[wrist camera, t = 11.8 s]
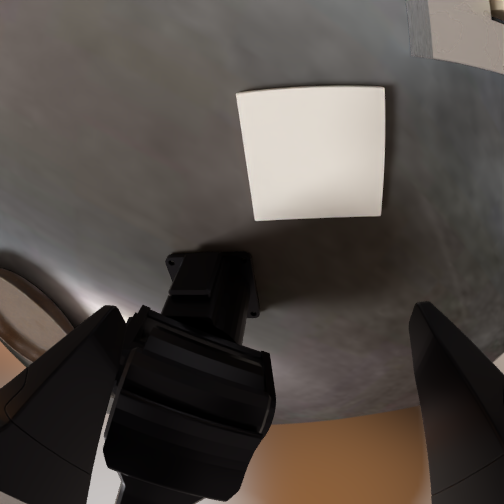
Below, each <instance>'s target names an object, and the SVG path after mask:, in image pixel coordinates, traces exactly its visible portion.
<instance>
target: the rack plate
mask: <svg viewBox="0 0 504 504" xmlns="http://www.w3.org/2000/svg"><path fill="white" fill-rule="evenodd" d="M405 1H406V8H407V16H408V24H409V34H410V46H411V56H414V57H422V58H429V59H435V60H441V61H447V62H452V63H457V64H462V65H467V66H471V67H476V68H480V69H484V70H488V71H491V72H495V73H499V74H502V75H504V24H501V23H498V22H496V21H493V20H492V19H491V11H490V4H489V0H405Z"/></svg>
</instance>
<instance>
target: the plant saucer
mask: <svg viewBox="0 0 504 504" xmlns="http://www.w3.org/2000/svg"><path fill="white" fill-rule="evenodd" d="M72 330H74V328H73V326H72V325H71V323H70V322H69V320H68V319H67V317H66V316H65V315H64V314H63V312H62V311H61V310H60V309H59V308H58V307H57V306H56V305H55V304H54V302H53V301H52V300H51V299H49V298H48V297H47V296H46V295H45V294H44V293H43V292H42V291H41V290H39V289H38V288H37V287H36V286H34V285H33V284H32V283H30V282H29V281H27V280H26V279H24V278H23V277H21V276H19V275H17V274H15V273H13V272H11V271H9V270H6V269H2V268H0V338H1V339H2V340H3V341H5V342H6V343H7V344H8V345H9V346H10V347H11V348H13V349H14V350H15V351H16V352H18V353H19V354H20V355H22V356H23V357H25V358H26V359H28V360H29V361H31V362H32V363H33V362H34V361H35V360H36V359H38V358H39V357H40V356H41V355H43V354H44V353H45V352H46V351H47V350H49V349H50V348H51V347H52V346H54V345H55V344H56V343H57V342H59V341H60V340H61V339H62V338H64V337H65V336H66V335H67V334H69V333H70V332H71V331H72Z"/></svg>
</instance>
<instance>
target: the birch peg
mask: <svg viewBox="0 0 504 504" xmlns="http://www.w3.org/2000/svg"><path fill="white" fill-rule="evenodd" d="M489 4H490V11H491V16H492V17H495V18H497V19H500V20H503V21H504V0H489Z"/></svg>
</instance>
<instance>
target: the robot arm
mask: <svg viewBox="0 0 504 504" xmlns="http://www.w3.org/2000/svg"><path fill="white" fill-rule="evenodd" d="M241 258H246V259H247V260H243V259H241ZM171 260H172V261H174V262H171ZM165 262H166V266H167V268H168V271H169V274H170V276H171V279H172V282H173V283H172V285H171V287H170V289H169V295H168V298H167V300H166V302H165V305H164V307H163V309H162V312H161V314H160V313H157V312H155V311H153V310H150V309H151V308H149V307H147V306H145V305H142V307H141V308H140V310H139V312H138V313H136V312H135V314H134V316H133V317H129V319H128V321H127V323H125V321H124V319H123V317H122V315H121V313H120V311H119V309H118V308H117V307H116V306H111V305H105V306H103V307H102V308H100V309H99V310H98V311H97V312H95V313H94V314H93V315H91V316H90V317H89V318H88V319H86V320H85V321H84V322H82V323H81V324H80V325H79V326H77V327H76V328H75V329H74V330H72V331H71V332H70V333H69V334H67V335H66V336H65V337H64V338H62V339H61V340H60V341H59V342H57V343H56V344H55V345H54V346H52V347H51V348H50V349H49V350H47V351H46V352H45V353H44V354H43V355H41V356H40V357H39V358H38V359H36V360H35V361H34V362H33V363H32V364H30V365H29V367H27V368H26V369H24V370H23V371H22V372H21V373H20V374H19V375H17V376H16V377H15V378H14V379H12V380H11V381H10V382H9V383H7V384H6V385H5V386H3V387H2V388H1V389H0V504H86V502H87V497H88V491H89V486H90V480H91V474H92V469H93V464H94V460H95V456H96V451H97V447H98V443H99V439H100V434H101V430H102V426H103V422H104V418H105V415H106V411H107V407H108V403H109V400H110V397H112V398H114V401H113V404H112V408H111V411H110V415H109V418H108V422H107V425H106V429H105V432H104V438H105V443H104V447H103V453H104V457H105V461H106V465H107V467H108V468H109V469H112V470H114V471H117V472H118V475H119V477H120V479H121V484H120V488H119V491H118V495H117V498H116V502H115V504H196V503H197V502H199V501H201V500H203V499H204V498H208V499H214V500H218V501H228V500H229V499H230V498H231V497H232V496H233V495H235V494H236V493H237V492H238V491H239V489H240V487H241V484H242V481H243V478H244V475H245V472H246V470H247V467H248V464H249V462H250V460H251V458H252V456H253V453H254V451H255V450H256V448H257V447H258V445H259V444H260V442H261V440H262V439H263V438H264V437H265V435H266V434H267V432H268V430H269V428H270V426H271V423H272V420H273V417H274V413H275V407H276V394H275V387H274V380H273V373H272V366H271V359H270V353H267V352H264V351H261V352H260V351H257V350H254V349H251V348H248V347H245V346H242V342H243V336H244V330H245V324H246V318H257V317H259V315H260V307H259V301H258V295H257V289H256V283H255V277H254V271H253V265H252V259H251V255H250V254H249V253H247V252H207V253H187V254H171V255H169V256H168V257H167V258H166V261H165ZM409 334H410V341H411V349H412V357H413V367H414V375H415V380H416V385H417V390H418V395H419V401H420V406H421V411H422V417H423V424H424V430H425V437H426V444H427V452H428V460H429V471H430V482H431V494H432V496H431V499H432V504H504V374H503V373H502V372H501V371H500V370H499V369H498V368H497V367H496V366H495V365H494V364H493V363H492V362H491V361H490V360H489V359H488V357H487V356H486V355H485V354H484V353H483V352H482V351H481V350H480V349H479V348H478V347H477V346H476V345H475V344H474V343H473V342H472V341H471V340H470V339H469V338H468V337H467V336H466V335H465V334H464V333H463V332H462V331H460V330H459V329H458V328H457V327H456V326H455V325H454V324H453V323H452V322H451V321H450V320H449V319H448V318H447V317H446V316H445V315H444V314H443V313H442V312H440V311H439V310H438V309H437V308H436V307H435V306H434V305H433V304H432V303H431V302H428V301H425V302H417V303H416V304H415V306H414V309H413V312H412V315H411V318H410V321H409Z"/></svg>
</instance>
